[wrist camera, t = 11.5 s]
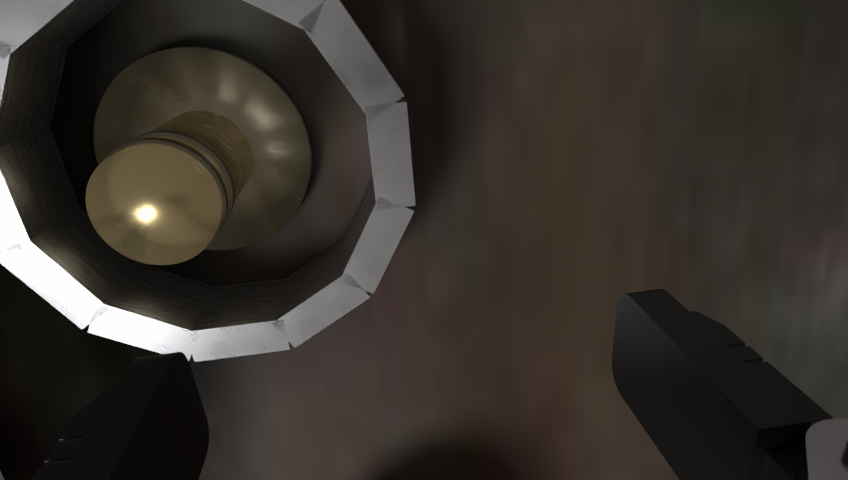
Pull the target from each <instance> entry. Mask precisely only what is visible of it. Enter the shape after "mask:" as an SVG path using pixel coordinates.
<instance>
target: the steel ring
mask: <svg viewBox="0 0 848 480" xmlns="http://www.w3.org/2000/svg"><path fill="white" fill-rule="evenodd" d="M123 1H124V0H0V252H1V253H0V264H2V265H3V266H4V267H5V268H6V269H8V270H9V271H10V272H11V273H13V274H14V275H15V276H16V277H18V278H19V279H20V280H21V281H22V282H24V283H25V284H26V285H27V286H29V287H30V288H31V289H32V290H34V291H35V292H36V293H37V294H38V295H40V296H41V297H42V298H43V299H45V300H46V301H47V302H48V303H50V304H51V305H52V306H53V307H54V308H56V309H57V310H58V311H59V312H61V313H62V314H63V315H64V316H66V317H67V318H68V319H69V320H70V321H72V322H73V323H74V324H75V325H77V326H78V327H79V328H80V329H83V328H85V327H86V326H88V325H89V324H90V325H89V329H88V332H87V333H91V334H94V335H98V336H101V337H105V338H108V339H112V340H115V341H119V342H122V343H126V344H129V345H132V346H136V347H139V348H143V349H146V350H150V351H153V352H157V353H160V354H168V353H175V352H182V353H183V354H185V356H186V357H187V359H188V361H189V360H190V358H191V356H193V359H194V362H199V361H206V360H214V359H222V358H229V357H237V356H245V355H253V354H260V353H268V352H276V351H283V350H290V347H291V344H292V345H293V346H294V347H297V346H298V345H300V344H301V343H303V342H304V341H306V340H307V339H309V338H310V337H312V336H313V335H315V334H316V333H318V332H319V331H321V330H322V329H324V328H325V327H327V326H328V325H330V324H331V323H333V322H334V321H336V320H337V319H339V318H340V317H342V316H343V315H345V314H346V313H348V312H349V311H351V310H352V309H354V308H355V307H357V306H358V305H360V304H361V303H363V302H364V301H366V300H367V299H369V298H370V293H373V294H374V292H375V290H376V288H377V286H378V284H379V282H380V280H381V278H382V276H383V274H384V272H385V270H386V268H387V266H388V264H389V262H390V260H391V258H392V256H393V254H394V252H395V250H396V248H397V246H398V243H399V241H400V239H401V237H402V235H403V233H404V231H405V229H406V227H407V225H408V223H409V221H410V219H411V217H412V215H413V213H414V208H413V206H416V205H415V193H414V181H413V170H412V158H411V146H410V134H409V123H408V111H407V101H406V100H405V98H404V94H403V92H402V90H401V89H400V87H399V85H398V83H397V81H396V80H395V79H394V77H393V76H392V74H391V73H390V71H389V70H388V68H387V67H386V65H385V64H384V62H383V61H382V59H381V58H380V57H379V55H378V54H377V52H376V51H375V49H374V48H373V46H372V45H371V43H370V42H369V40H368V39H367V38H366V36H365V35H364V33H363V32H362V30H361V29H360V27H359V26H358V24H357V23H356V21H355V20H354V18H353V17H352V16H351V14H350V13H349V11H348V10H347V8H346V7H345V5H344V4H343V2H342V1H341V0H243V1H245V2H248V3H250V4H252V5H254V6H256V7H258V8H260V9H262V10H264V11H266V12H268V13H270V14H272V15H274V16H276V17H278V18H281V19H283V20H285V21H287V22H289V23H291V24H293V25H295V26H297V27H299V28H301V29H303V30H304V31H305V32H306V33H307V35H308V36H309V37H310V39H311V40H312V42H313V43H314V44H315V46H316V47H317V48H318V50H319V51H320V53H321V54H322V55H323V57H324V58H325V59H326V61H327V62H328V63H329V65H330V66H331V68H332V69H333V70H334V72H335V73H336V74H337V76H338V77H339V79H340V80H341V81H342V83H343V84H344V85H345V87H346V88H347V89H348V91H349V92H350V94H351V95H352V96H353V98H354V99H355V100H356V102H357V103H358V105H359V106H360V107H361V109H362V110H363V111H364V113H365V114H366V123H367V131H368V140H369V148H370V157H371V165H372V174H373V175H372V178H371V180H370V182H369V184H368V186H367V189H366V191H365V193H364V195H363V197H362V200H361V202H360V204H359V206H358V209H357V211H356V213H355V215H354V217H353V220H352V222H351V224H350V226H349V228H348V231H347V233H346V235H345V237H344V239H342V240H341V241H340V242H338V243H337V244H335V245H334V246H332V247H331V248H329V249H328V250H327V251H325V252H324V253H322V254H321V255H319V256H318V257H316V258H315V259H314V260H312V261H311V262H309V263H308V264H306V265H305V266H303V267H302V268H301V269H299V270H298V271H296V272H295V273H293V274H292V275H290V276H289V277H288V278H281V279H273V280H264V281H256V282H247V283H239V284H231V285H222V286H212V285H209V284H206V283H203V282H200V281H197V280H194V279H191V278H188V277H185V276H182V275H179V274H176V273H173V272H169V271H166V270H163V269H160V268H157V267H154V266H151V265H148V264H145V263H142V262H138V261H135V260H133V259H130V258H128V257H126V256H124V255H122V254H120V253H119V252H117V251H116V250H114V249H113V248H112V247H111V246H109V245H108V244H107V243H106V242H105V241H104V240H103V239H102V238H101V237H100V235H99V234H98V233H97V231H96V230H95V228H94V226H93V225H92V223H91V221H90V218H89V216H88V213H87V212H86V211H85V210H83V209H82V208H81V207H80V206H79V204H78V201H77V198H76V195H75V193H74V190H73V187H72V184H71V182H70V179H69V176H68V174H67V171H66V168H65V165H64V163H63V160H62V157H61V154H60V152H59V149H58V146H57V143H56V141H55V138H54V135H53V133H52V130H51V122H52V118H53V114H54V109H55V105H56V100H57V96H58V92H59V87H60V83H61V78H62V74H63V70H64V65H65V61H66V56H67V52H68V48H69V46H70V45H71V44H72V43H73V42H74V41H76V40H77V39H78V38H79V37H81V36H82V35H83V34H84V33H85V32H87V31H88V30H89V29H90V28H91V27H93V26H94V25H95V24H96V23H97V22H99V21H100V20H101V19H102V18H103V17H105V16H106V15H107V14H108V13H109V12H111V11H112V10H113V9H114V8H115V7H117V6H118V5H119V4H120V3H121V2H123Z"/></svg>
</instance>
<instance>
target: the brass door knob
mask: <svg viewBox="0 0 848 480" xmlns="http://www.w3.org/2000/svg"><path fill="white" fill-rule="evenodd" d="M94 148H95V155H96V159H97V163H98V167H97V168H96V169H95V170H94V172H93V173H92V175H91V177H90V179H89V182H88V184H87V189H86V208H87V212H88V216H89V218H90V221H91V223H92V225H93V226H94V228H95V230H96V231H97V233H98V234H99V235H100V237H101V238H102V239H103V240H104V241H105V242H106V243H107V244H108V245H109V246H111V247H112V248H113V249H114V250H116V251H117V252H119V253H120V254H122V255H124V256H126V257H128V258H130V259H133V260H135V261H138V262H142V263H146V264H152V265H171V264H177V263H181V262H184V261H187V260H189V259H191V258H193V257H195V256H196V255H198V254H199V253H200V252H202V251H203V250H230V249H236V248H242V247H245V246H248V245H252V244H254V243H257V242H259V241H261V240H263V239H265V238H267V237H269V236H270V235H272V234H274V233H275V232H276V231H278V230H279V229H280V228H281V227H282V226H284V225H285V224H286V223H287V221H288V220H289V219H290V218H291V217H292V216H293V215H294V213H295V212H296V210H297V209H298V207H299V206H300V204H301V202H302V200H303V198H304V196H305V193H306V190H307V187H308V183H309V180H310V174H311V169H312V147H311V140H310V136H309V131H308V128H307V125H306V123H305V120H304V117H303V115H302V113H301V111H300V109H299V108H298V106H297V104H296V103H295V101H294V100H293V98H292V97H291V95H290V94H289V93H288V91H287V90H286V89H285V88H284V87H283V86H282V85H281V84H280V82H278V81H277V80H276V79H275V78H274V77H273V76H272V75H271V74H269V73H268V72H267V71H265V70H264V69H263V68H261V67H260V66H258V65H257V64H255V63H253V62H251V61H249V60H248V59H246V58H244V57H242V56H239V55H236V54H234V53H231V52H229V51H225V50H221V49H216V48H211V47H202V46H184V47H177V48H171V49H166V50H162V51H159V52H156V53H152V54H149V55H147V56H145V57H143V58H141V59H139V60H137V61H135V62H134V63H132V64H131V65H129V66H128V67H127V68H125V69H124V70H123V71H122V72H121V73H120V74H119V75H118V76H117V77H116V78H115V79H114V80H113V81H112V83H111V84H110V85H109V87H108V88H107V89H106V91H105V93H104V95H103V97H102V99H101V101H100V104H99V107H98V110H97V112H96V117H95V123H94Z"/></svg>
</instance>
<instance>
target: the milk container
mask: <svg viewBox="0 0 848 480" xmlns="http://www.w3.org/2000/svg"><path fill="white" fill-rule="evenodd" d="M0 480H19V473H18V468H17V466H16V463H15V461H14V459H13V457H12V455H11V453H10V451H9V450H8V448H7V446H6V444H5V443H4V441H3V439H2V437H1V436H0Z"/></svg>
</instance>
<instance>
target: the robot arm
mask: <svg viewBox="0 0 848 480" xmlns="http://www.w3.org/2000/svg"><path fill="white" fill-rule="evenodd" d="M612 370H613V376H614V380H615V383H616V386H617V388H618V391H619V393H620V394H621V396H622V397H623V399H624V400H625V402H626V403H627V405H628V406H629V407H630V409H631V410H632V412H633V413H634V415H635V416H636V418H637V419H638V420H639V422H640V423H641V425H642V426H643V428H644V429H645V431H646V432H647V433H648V435H649V436H650V438H651V439H652V441H653V442H654V444H655V445H656V446H657V448H658V449H659V451H660V452H661V454H662V455H663V457H664V458H665V459H666V461H667V462H668V464H669V465H670V467H671V468H672V470H673V471H674V472H675V474H676V475H677V477H678V478H679V480H848V419H834V418H833V417H831V416H830V415H829V414H828V413H827V412H826V411H824V410H823V409H822V408H821V407H820V406H819V405H817V404H816V403H815V402H814V401H813V400H811V399H810V398H809V397H808V396H807V395H806V394H804V393H803V392H802V391H801V390H800V389H799V388H797V387H796V386H795V385H794V384H793V383H791V382H790V381H789V380H788V379H787V378H786V377H784V376H783V375H782V374H781V373H780V372H779V371H777V370H776V369H775V368H774V367H773V366H772V365H770V364H769V363H768V362H763V358H762V357H761V356H760V355H759V354H757V353H756V352H755V351H754V350H753V349H752V348H750V347H746V346H745V343H744V342H743V341H742V340H741V339H740V338H739V337H737V336H736V335H735V334H734V333H733V332H732V331H730V330H729V329H728V328H727V327H726V326H724V325H723V324H721V323H719V322H717V321H715V320H713V319H710V318H708V317H706V316H704V315H702V314H700V313H698V312H696V311H693V312H689V311H688V310H687V309H686V308H685V307H684V306H682V305H681V304H680V303H679V302H678V301H677V300H676V299H675V298H674V297H672V296H671V295H670V294H669V293H668V292H667V291H665V290H663V289H657V290H650V291H642V292H635V293H627V294H622V295H621V296H620V297H619V299H618V301H617V306H616V317H615V330H614V342H613V354H612ZM208 442H209V429H208V422H207V418H206V414H205V411H204V408H203V405H202V402H201V399H200V396H199V392H198V389H197V386H196V383H195V380H194V377H193V374H192V370H191V367H190V364H189V361H188V359H187V357H186V356H185V354H183V353H182V352H175V353H168V354H160V355H153V356H145V357H138V358H135V359H134V360H132V362H131V363H130V364H129V366H128V368H127V369H126V371H125V372H124V374H123V375H122V377H121V379H120V380H119V382H118V383H117V385H116V386H115V388H114V389H113V390H108V391H103V392H102V393H101V394H100V395H99V396H97V397H96V398H95V399H94V400H93V401H91V402H90V403H89V404H88V405H87V406H86V407H84V408H83V409H82V410H81V411H80V412H78V413H77V414H76V415H75V417H74V418H73V420H72V421H71V423H70V424H69V426H68V427H67V429H66V430H65V431H64V433H63V434H62V436H61V437H60V439H59V444H57V445H55V446H54V447H53V449H52V450H51V452H50V453H49V455H48V456H47V457H46V459H45V460H44V466H43V467H40V468H39V469H38V470H37V472H36V473H35V475H34V476H33V478H32V479H31V480H198V479H199V476H200V473H201V470H202V467H203V464H204V461H205V458H206V455H207V450H208Z"/></svg>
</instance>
